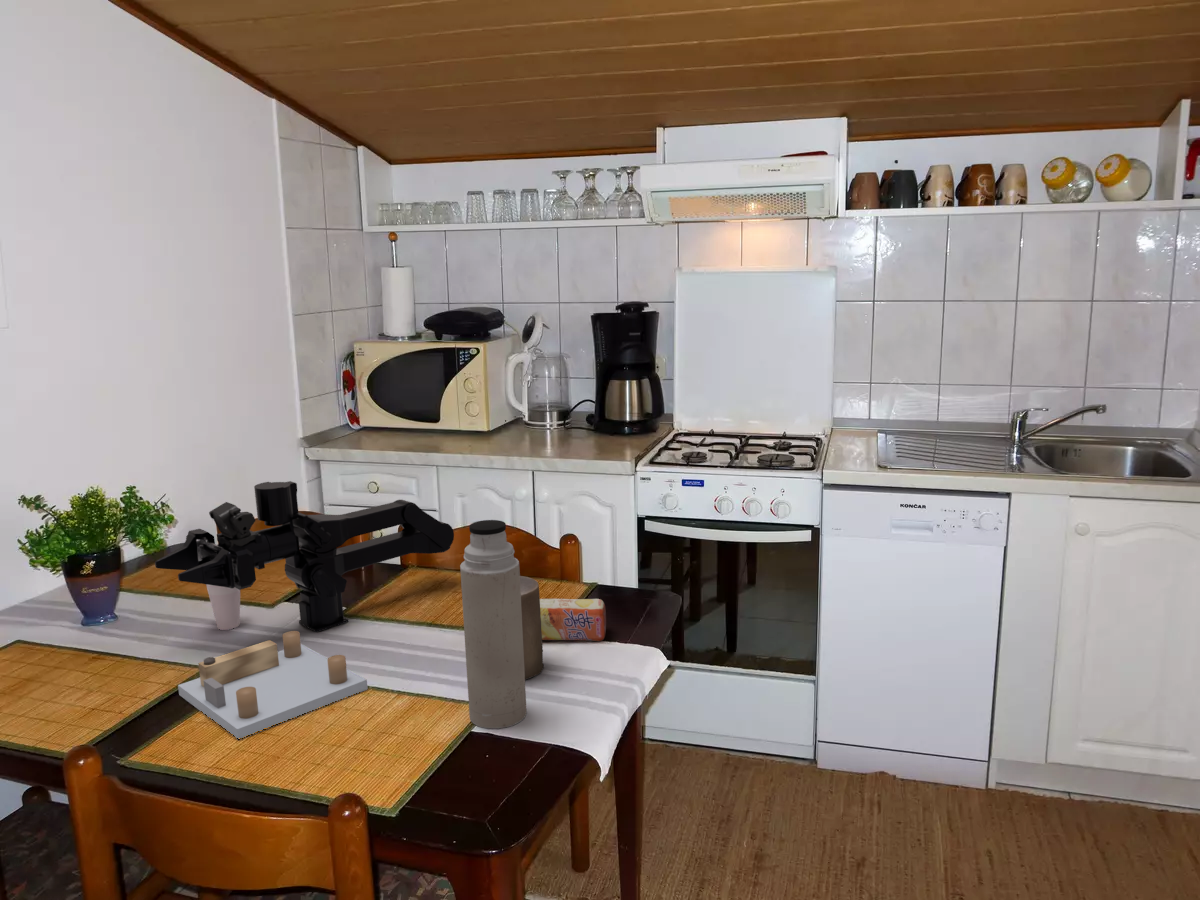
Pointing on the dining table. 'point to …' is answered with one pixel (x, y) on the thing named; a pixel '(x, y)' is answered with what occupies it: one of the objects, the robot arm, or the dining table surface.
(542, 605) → the snack package
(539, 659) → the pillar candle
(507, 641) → the thermos bottle
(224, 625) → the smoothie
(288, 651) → the grey peg board
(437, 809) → the dining table surface
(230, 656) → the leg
